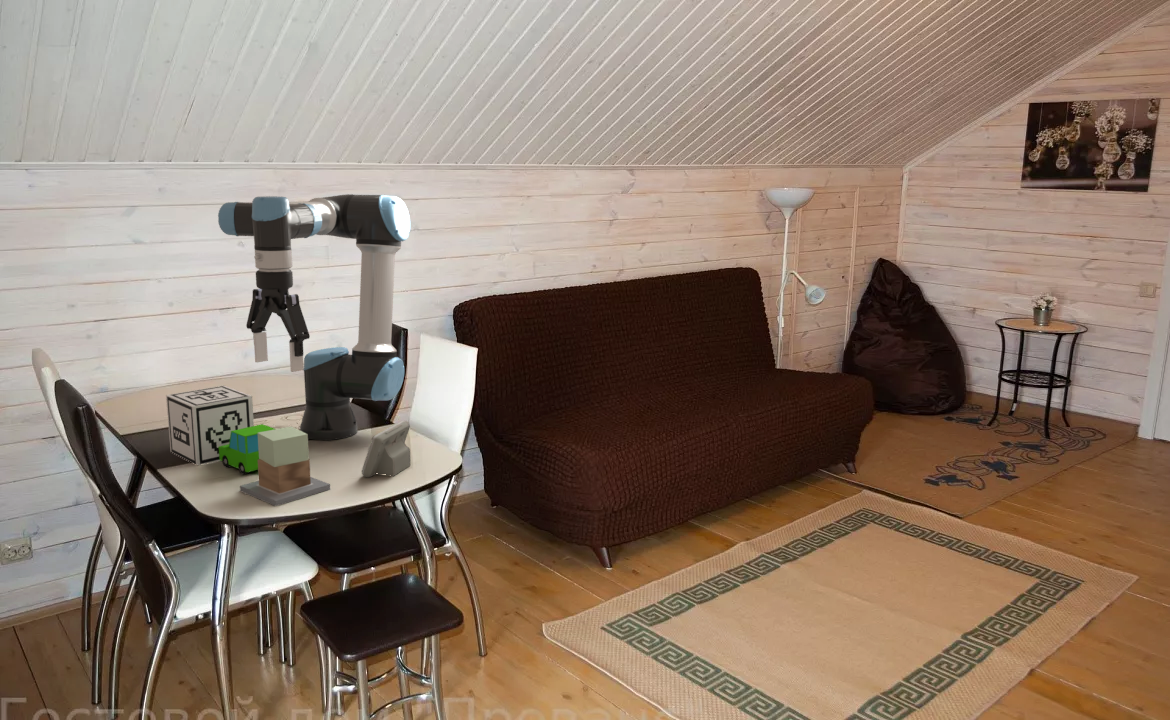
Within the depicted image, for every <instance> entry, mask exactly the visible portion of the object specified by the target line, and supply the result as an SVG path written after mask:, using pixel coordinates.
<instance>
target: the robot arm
mask: <svg viewBox="0 0 1170 720" xmlns="http://www.w3.org/2000/svg"><path fill="white" fill-rule="evenodd" d="M217 216H218V217H217V218H218V220H217V221H218V225H219V228H220V230H221V231H222V232H223V233H224V234H225V235H228V236H236V237H253V241H254V248H253V249H254V262H255V263H254V264H255V265H254V266H255V269H257V270H256V272H255V281H256V282H255V285H256V288H255V289H252V300H251V304H250V308H249V313H248V317H247V321H246V325H245V326H246V328H247V329H248V330H250V332H251V333H252V335H253V348H254V350H253V351H254V361H255V363H262V362H267V361H269V356H268V340H267V339H268V338H267V330H266V326H267V325H268V322H269V320H270V318H271V316H272V313H274V314H276V315H277V317H278V318H280V319H281V321H282V323H283V326H284V327H285V330H286V332H287V333H288V335H289V337H290V339H289V340H288V343H289V344H288V345H289V347H288V348H289V361H290V362H289V365H290V372H291V373H296V372H301V371H303V376H304V377H303V378H304V379H303V381H304V394H305V395H304V396H305V408H304V412H303V415H302V419H301V422H300V426H299V428H300V429H299V430H300V431H302V432H304V433H306V434H308V440H315V441H316V440H317V441H331V440H338V439H345V438H349V437H352V436H354V435H355V434H357V432H358V421H357V419H356V416H355V414H354V411H353V409H352V408H353V407H352V405H351V399H359V400H360V399H361V400H370V401H371V400H372V401H374V402H376V401H390V400H392V399H393V398H395V397H396V396H397V395H398V394H399V391H400V389H401V388H402V385H403V382H404V380H405V379H404V377H405V366H404V361H403V360H402V359H401V358H400V357H398V356H397V352H398V351H397V349H396V348H395V347H394V346H393V345H392V335H393V334H392V331H393V330H392V329H393V310H394V309H393V308H394V306H393V305H394V285H395V284H394V282H395V257H396V253H398V252H399V251H400V250H401V249H402V242H404V241H406V240H407V239H408V238H409V237H410V233H411V216H410V213H409V209H408V207H407V205H406V203H405V202H404V201H403V199H402V198H400V197H398V196H396V195H386V194H352V193H351V194H348V193H347V194H339V195H333V196H325V197H313V198H311V199H310V200H308V201H289V198H288V197H286V196H273V195H272V196H270V195H269V196H266V195H265V196H256V197H254V198H253V199H252V202H240V201H235V202H231V201H230V202H229V201H228V202H225V203H223V204H222V205H221V206H220V208H219V210H218V215H217ZM315 235H316V236H329V237H336V238H337V237H339V238H345V239H355V241H356V242H355V245H356V247H357V249H359V250H360V253H361V258H360V259H361V260H360V262H361V264H360V283H359V284H360V286H359V287H360V289H359V311H358V312H359V315H358V317H359V318H358V338H357V339H358V341H357V344H355V345H354V346H353V347H352V348H351V350H352V351H351V354H349V353H350V351H349V349H348V348H347V347H343V346H339V347H337V346H336V347H328V348H322V349H317V350H312V351H310V352H308V353H307V354H306V355H305V356H304V341H305V340H309V339H310V333H309V330H308V327H307V323H306V320H305V318H304V315H303V311H302V308H301V305H300V298H299V294H297V293H294V294H290V292H289V289H290V288H292V287H293V286H294V279H293V278H294V277H293V271H292V270H291V268H292V267H293V255H292V240H294V239H307V238H310V237H313V236H315Z"/></svg>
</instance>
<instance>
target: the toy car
mask: <svg viewBox="0 0 1170 720" xmlns="http://www.w3.org/2000/svg"><path fill="white" fill-rule="evenodd" d="M275 429H276V428H274V427H272V426H268V425H266V424H263V423H262V424H257V425H254V426H252V427H247V428H243V429H238V430H234V431H231V435H230V442H229V444H228V445H223V446H219V459H220V461H219V462H222V464H223V466H224V467H225V468H230V467H231V468H232V467H234V468H236V469H238V470H239V472H240V475H241V474H242V475H247V474H249V473H250V472H254V471H258V459H259V449H258V433H259V432H264V431H269V430H275Z"/></svg>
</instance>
